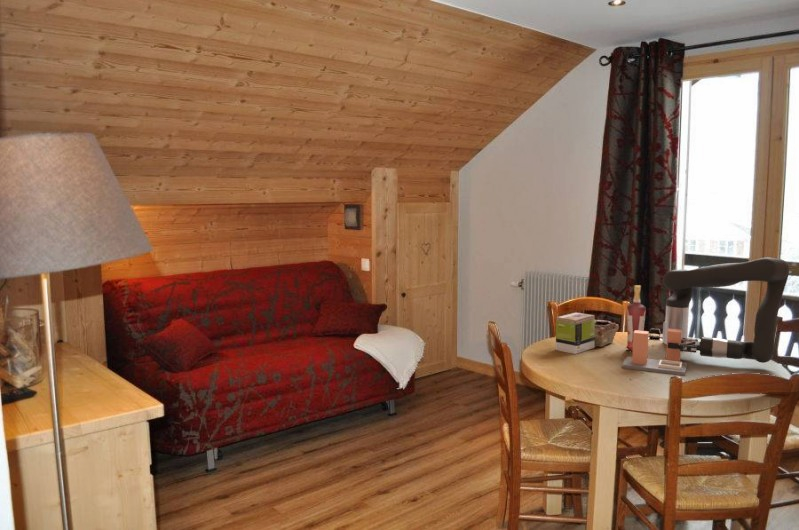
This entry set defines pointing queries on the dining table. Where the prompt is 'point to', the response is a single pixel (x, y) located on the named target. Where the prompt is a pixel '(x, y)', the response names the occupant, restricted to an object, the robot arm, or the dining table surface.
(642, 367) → the charcoal board
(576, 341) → the tea box
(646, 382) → the dining table surface
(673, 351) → the terracotta block
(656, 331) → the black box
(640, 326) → the liquor
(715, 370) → the dining table surface
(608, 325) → the grey textured container
